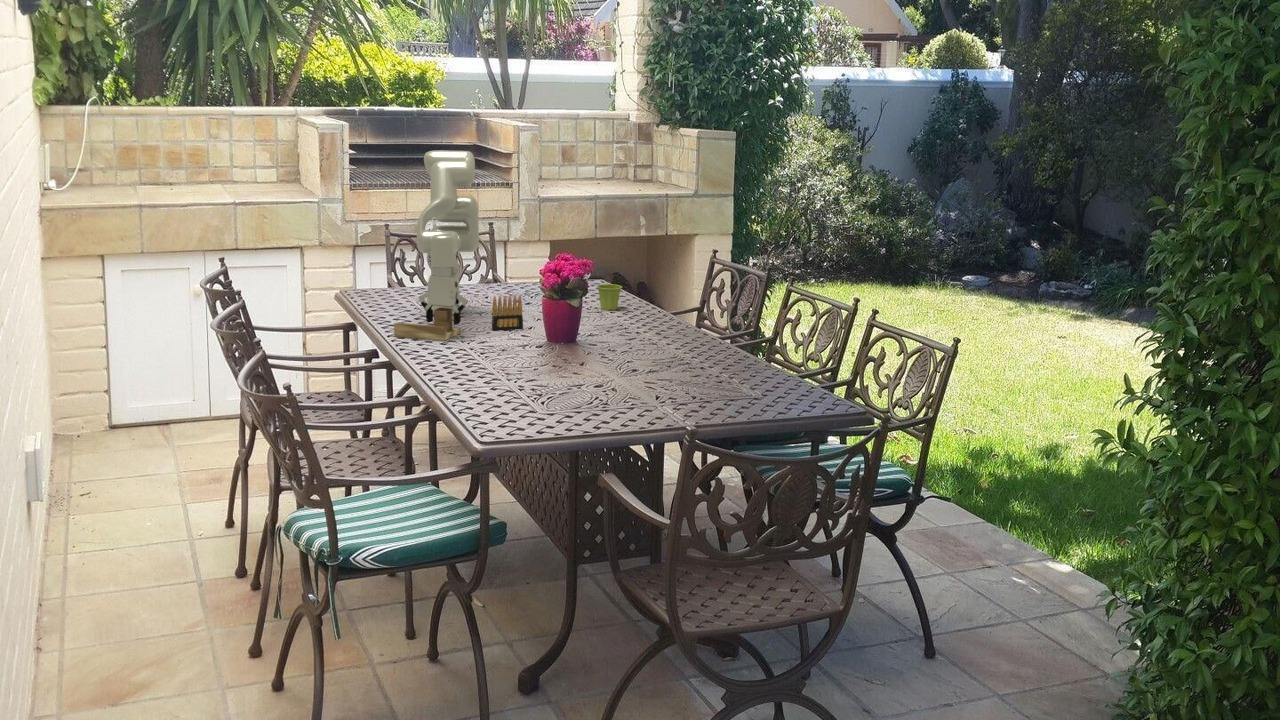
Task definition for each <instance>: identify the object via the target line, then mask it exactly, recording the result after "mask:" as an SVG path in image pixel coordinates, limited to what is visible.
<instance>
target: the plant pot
mask: <svg viewBox="0 0 1280 720" xmlns="http://www.w3.org/2000/svg"><path fill="white" fill-rule="evenodd" d="M596 288H597V291H598V293H599V295H598V296H599V305H600V309H601V310H603V311H616V310H618V307H619V300H620V293H621V291H622V289H623V286H622V285H618V284H613V283H611V284H608V283H607V284H605V283H604V284H603V283H602V284H598V285H597V286H596Z"/></svg>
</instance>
